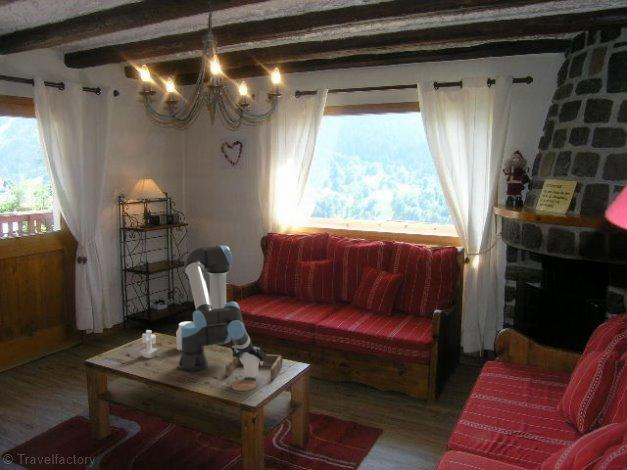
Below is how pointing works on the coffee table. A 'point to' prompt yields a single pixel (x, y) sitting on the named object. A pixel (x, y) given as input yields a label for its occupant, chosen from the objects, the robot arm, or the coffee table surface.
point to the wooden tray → (268, 361)
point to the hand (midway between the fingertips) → (252, 362)
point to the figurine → (149, 344)
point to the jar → (178, 334)
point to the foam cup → (250, 364)
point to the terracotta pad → (243, 385)
